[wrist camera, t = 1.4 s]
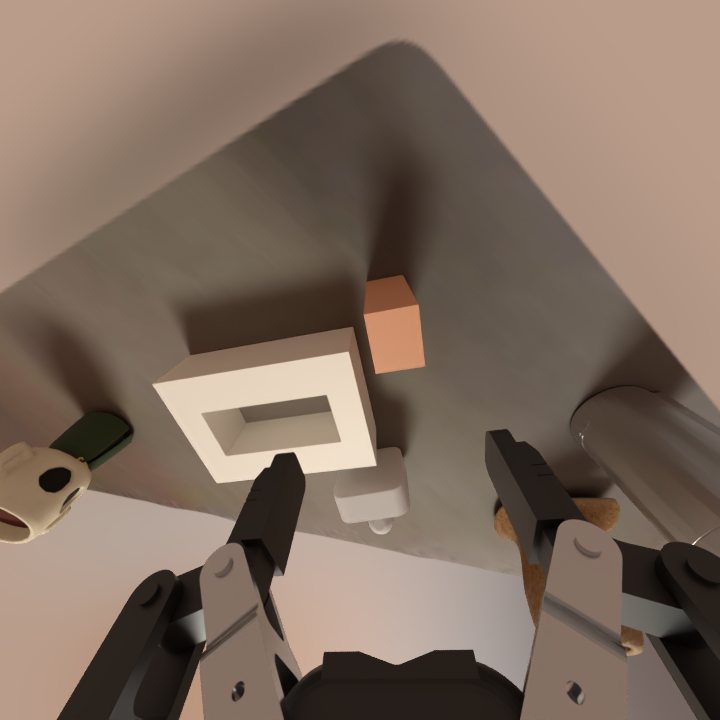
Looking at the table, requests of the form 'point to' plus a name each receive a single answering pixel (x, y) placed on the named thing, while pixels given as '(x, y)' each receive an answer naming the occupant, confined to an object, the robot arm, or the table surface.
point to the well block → (275, 405)
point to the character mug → (53, 475)
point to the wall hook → (374, 491)
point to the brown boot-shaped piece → (534, 577)
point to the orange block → (393, 325)
